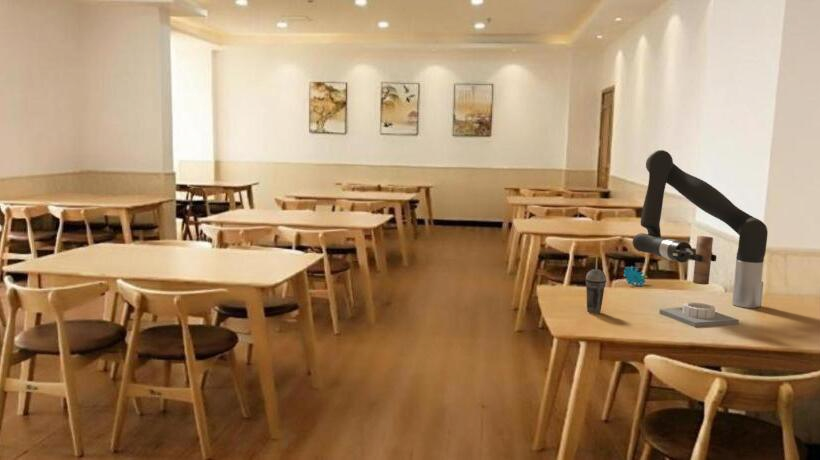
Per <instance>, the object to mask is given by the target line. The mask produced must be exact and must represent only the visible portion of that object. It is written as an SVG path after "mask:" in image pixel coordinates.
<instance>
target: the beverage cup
mask: <svg viewBox="0 0 820 460" xmlns="http://www.w3.org/2000/svg"><path fill="white" fill-rule="evenodd" d="M606 283H607V277H606V274H605V272H603V271H602V270H601V269H599V268H598V256H596V257H595V268H593V269H591V270H589V271H588V272H587V273H586V276H585V286H586V287H585V288H586V311H587V313H588V312H589V313H588V314H591V313H596V314H595V315H598V314H597V313H600V314H601V312H602V311H601V310H602V304H603V299H604V293H605V287H606Z"/></svg>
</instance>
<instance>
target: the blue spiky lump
mask: <svg viewBox="0 0 820 460" xmlns="http://www.w3.org/2000/svg"><path fill="white" fill-rule="evenodd" d="M634 268H635V267H634V266H633V265H631V266H627V267H625V269H624V270H623V272H624V273H623V277H624V278H625V277H626V279H625V280H626V282H627V284H630V285H631V286H633V285H634V286H635V287H642V286H644V284H645V283H646V279H648V275H647V274H646V275H643V274H644V272H643V271H641V270H639V268H638V267H636V268H635V269H634Z"/></svg>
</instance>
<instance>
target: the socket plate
mask: <svg viewBox="0 0 820 460" xmlns="http://www.w3.org/2000/svg"><path fill="white" fill-rule="evenodd" d="M658 312H659V314H660V315H663V316H665V317H668V318H670V319H673V320H675V321H679V322H681V323H683V324H685V325H688V326H690V327H693V326H694V328H698V327H701V328H702V327H715V326H717V327H718V326H727V325H731V326H732V325H739V324H740V323H739V322H740V319H737V318H734V317H732V316H729V315H726V314H723V313H720V312H717V311H716V307H715V306H714V305H711V304H707V303H702V302H685V303H683V304H682V307H679V308H659V311H658Z"/></svg>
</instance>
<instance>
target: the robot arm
mask: <svg viewBox="0 0 820 460" xmlns="http://www.w3.org/2000/svg"><path fill="white" fill-rule="evenodd" d="M645 168H646V171H647V172H648V173H649V174H648V185H647V189H646V195H645V198H644V201H643V205H642V211H641V216H640V217H641V218H640V226H641V227H643V228H645V229H646V231H647V233H648V234H647V233H642V232H640V233H636V235H634V237H633V238H632V246H633V248H634V249H635V250H636V251H638V252H640V253H641V252H642V253H647V254H652V255H655V256H657V257H662V258H664V259H667V260H670V261H674V262H677V263H686V262H688V261H692V262H693V261H694V262H695V261H699V262H702V261H703V256H702V255H699V254H696V247H692V246H691V244H690V243H689V242H686V241H682V240H678V239H673V238H666V237H662V233H661V227H660V224H661V218H662V211H663V210H662V209H663V203H664V196H665V190H666V185H667V184H668V185H669V186H671V187H672V188H673V189H674V190H675V191H677V192H678V193H679V194H681V195H682V196H683V197H684V198H685V199H686V200H688V201H689V202H690V203H692V204H693V205H695V206H696V207H697V208H699V210H700V209H701V211H703V212H704V213H707V214H708V215H710V216H711V217H714V218H715V219H718V220H720V221H721V222H723V223H725V224H726V225H727V226H729V228H731V229H732V230H733V231H734V232H736V234H738V236H739V239H738V247H737V252H736V259H735V269H734V281H733V290H732V301H731V302H732V303H731V304H732V305H734V306H736V307H739V308H740V307H741V308H748V309H756V307H758V308H759V307H762V302H763V301H762V300H763V291H764V281H762V280H763V271H764V270H763V269H764V261H765V256H766V251H767V242H768V227H767V225H766V224H765V223H764V222H763V221H762V220H761V219H759V218H756V217H754V216H752V215H750V214H749V213H747V212H745V211H743V210H742V209H740V208H739V207H737V206H736V205H735V204H734V203H733V202H732V201H731V200H730V199H729V198H727V196H726V195H724V194H723V193H722V192H720V190H719V189H717V188H716V187H713V185H711V184H710V183H708V182H706V181H705V180H702V179H701V178H699V177H697V176H694V175H692V174H691V173H690V174H689V173H687V172H685V171H684V170H682V169H681V168H680V167H679V166H677V165H676V164H675V163H674V161H673V156H672V155H671V154H670V152H668V151H667V150H663V149H660V150H659V149H658V150H655V151H653V152H652V153H651V154H650V155H649V156H648V157H647V159H646V161H645ZM711 262H717V255H716V254H713V253H712V254H711Z"/></svg>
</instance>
